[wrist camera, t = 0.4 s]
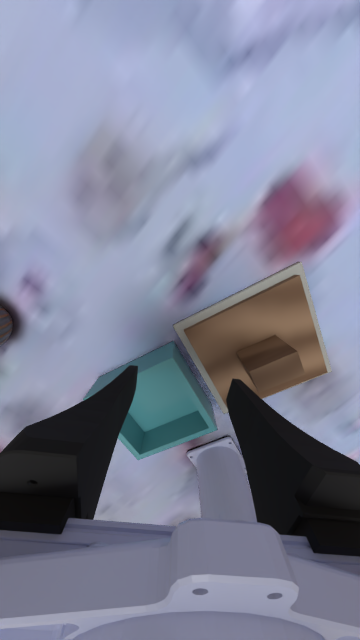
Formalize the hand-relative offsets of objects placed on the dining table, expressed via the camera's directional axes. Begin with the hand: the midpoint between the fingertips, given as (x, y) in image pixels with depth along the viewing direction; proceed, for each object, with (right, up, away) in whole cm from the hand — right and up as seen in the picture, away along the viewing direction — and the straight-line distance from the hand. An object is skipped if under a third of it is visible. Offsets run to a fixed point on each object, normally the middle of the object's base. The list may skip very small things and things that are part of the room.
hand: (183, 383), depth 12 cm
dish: (-4, -6, +12) cm, 13 cm away
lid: (+10, +1, +9) cm, 13 cm away
